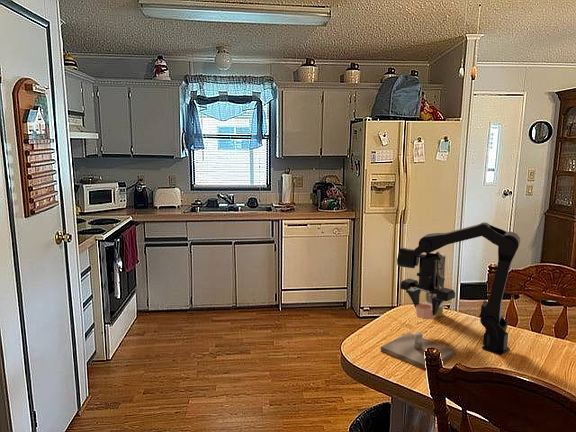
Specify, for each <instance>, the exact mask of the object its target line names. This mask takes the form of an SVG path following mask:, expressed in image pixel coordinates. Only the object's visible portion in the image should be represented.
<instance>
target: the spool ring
mask: <svg viewBox="0 0 576 432" xmlns="http://www.w3.org/2000/svg"><path fill="white" fill-rule="evenodd" d="M415 315H416V317H417V318H420V319H422V320H433V319H435V318H437V317H436V315H433V312H432V304H429V303H425V302H419V304H417V305H416V308H415Z"/></svg>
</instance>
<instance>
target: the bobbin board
mask: <svg viewBox="0 0 576 432" xmlns="http://www.w3.org/2000/svg"><path fill="white" fill-rule="evenodd" d="M429 347H434V348H437V349H438V350H439V351H440V353H441V358H442V361H443V363H444V362H447V361H448V360H449V359H451V358H452V357H454V356H456V355H457V349H454V348H452V347H449V346H447V345H443V344H440V343H438V342H435V341H433V340H430V339H427V338H424V337H423V333H422V332H420V331H418V332H415V333H414V334H413V333H411V332H407V333H406V334H403V335H400V336H398V337H397V338H395V339H393V340H391V341H389V342H387V343H385V344H383V345H381V346H380V352H382V353H385V354H387V355H389V356H392V357H395V358H397V359H400V360H401V361H404V362H406V363H409V364H411V365H413V366H416V367H419V368H420V369H423V370H426V368H425V359H424V352H425V350H426V349H427V348H429ZM426 371H427V370H426Z"/></svg>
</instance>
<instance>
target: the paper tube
mask: <svg viewBox="0 0 576 432" xmlns="http://www.w3.org/2000/svg"><path fill="white" fill-rule="evenodd" d="M436 252H437V251H433V252H430V253H436ZM438 252H439V253H440V254H441V255H442V256H443V258H442V259H441V260H437V263H436V272H437V273H438V277H442V278H445V277H446V273H445V272H446V253H444V252H442V251H438ZM442 288H445V284H444V285H443V287H442V286H440V285H439V287H435V289H439V290H440V289H442ZM435 295H436V294H432V293H429V292H425V300H424V301H425V302H424V303H429V304H432V298H434V297H435ZM443 313H444V301H442V302H441V304H440V306H439V308H438V310H437V313H436V317H435V318H439V317H442V316H443V315H444V314H443Z"/></svg>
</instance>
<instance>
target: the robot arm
mask: <svg viewBox="0 0 576 432" xmlns="http://www.w3.org/2000/svg"><path fill="white" fill-rule="evenodd" d="M480 237H483V238H484V239H486V240H487V241H489V242H490V243H492V244H493V245H495V246H497V257H498V259H497V261H498V262H497V265H496V269H495V274H494V277H493V282H492V285H491V290H490V295H489V299H488V301H487V300H485V299H483V302H482V303H481V305H480V312H479V315H478V318H480V324H481V325H482V327H484V328H485V330H484V333H483V336H482V337H483V338H482V347H481V349H483V350H486V351H488V352H490V353H494V354H497V355H499V356H503V354H505V353H506V352H508V351H510V347H508V344H509V343H508V341H509V332H507V328H508V325H509V323H508V322H507V320H506V319H505V318H504V317H503V313H502V312H503V303H502V302H503V296H504V292H505V288H506V285H507V281H508V276H509V272H510V268H511V265H512V261H513V259H514V257H515V255H516V253H517V251H518V249H519V246H520V244H521V238H520V236H519V234H517V233H516V232H513V231H505V230H504V229H502V228H499V227H496V226H494V225H491V224H490V223H488V222H485V221H483V222H480V223H479V224H475V225H471V226H467V227H464V228H460V229H455V230H452V231H448V232H435V233H427V234H425V235H424V236H422V237H420V239H419V240H418V246H417V247H416V248H414V249H412V248H405V247H400V248H399V252H398V255H397V259H396V266H397V267H401V268H408V269H415V268H416V267H418V269H419V270H418V272H416V276H417V277H418V280H416V279H413V278H406V279H403V280H402V281H401V282H400V285H399V288H400V289H401V290H404V291H405V293H407V295H408V296H409V298H410V299H411V302H412V303H413V305H414V308H415V309H416V305H417V304H419V303H420V296H421V295H420V294H421V292H425V293H426V292H429V293H432V294H436V295H435V297H434V298H432V312H433V315H436V313H437V310H438V308H439V306H440V304H441V302H442V301H443V302H449V301H451V300H454V299H455V298H456V292H455V290H454V289H451V288H447V287H444V288H442V289H440V290H439V289H435V287H439V285H440V286H442V287H443V285H444V286H445V280H446V279H445V278H442V277H438V273H437V272H436V263H437V260H441V259H442V258H443V256H442V255H441V254H440V253H439V252H440V251H437V250H439V249H441V248H444V247H445V246H446V247H447V245H451V244H455V243H460V242H464V241H468V240H471V239H476V238H480ZM430 252H436V253H430ZM424 253H425V254H424Z"/></svg>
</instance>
